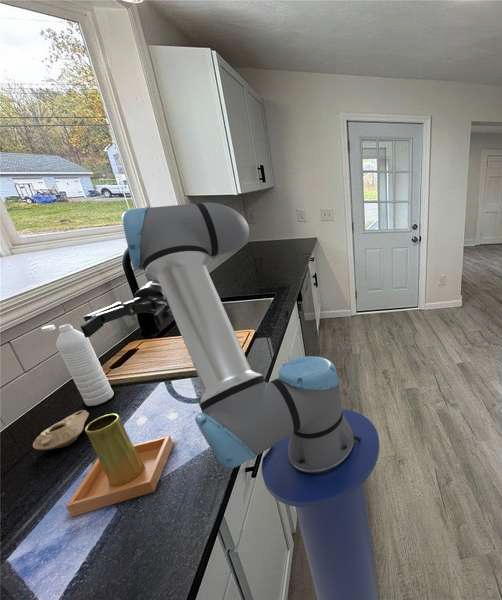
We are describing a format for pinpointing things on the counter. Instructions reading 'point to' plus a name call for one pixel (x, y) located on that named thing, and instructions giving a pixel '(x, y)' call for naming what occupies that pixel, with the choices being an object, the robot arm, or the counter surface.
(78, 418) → the pottery oil lamp
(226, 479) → the counter surface
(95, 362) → the water bottle
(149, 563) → the counter surface
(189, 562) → the counter surface
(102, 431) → the vase
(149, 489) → the wooden tray
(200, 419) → the robot arm
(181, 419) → the counter surface
